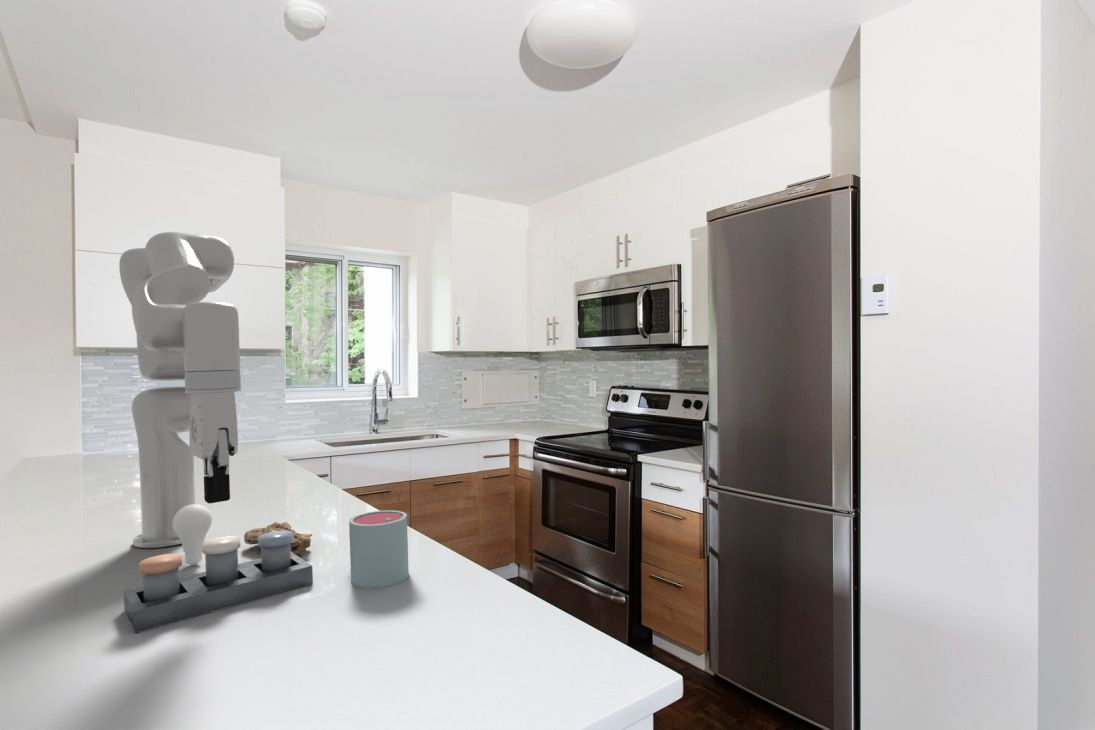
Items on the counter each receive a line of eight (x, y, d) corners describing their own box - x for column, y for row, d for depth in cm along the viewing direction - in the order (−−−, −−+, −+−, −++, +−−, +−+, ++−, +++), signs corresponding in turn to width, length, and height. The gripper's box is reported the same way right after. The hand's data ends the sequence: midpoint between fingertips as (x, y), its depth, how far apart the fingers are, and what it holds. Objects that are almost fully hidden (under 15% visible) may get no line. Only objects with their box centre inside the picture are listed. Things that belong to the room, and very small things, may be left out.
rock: (338, 531, 116) (298, 534, 108) (334, 557, 116) (292, 563, 107) (280, 518, 124) (238, 519, 115) (276, 542, 123) (232, 546, 114)
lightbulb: (195, 572, 103) (193, 509, 103) (165, 570, 104) (163, 508, 104) (221, 560, 109) (219, 501, 109) (192, 558, 110) (190, 500, 110)
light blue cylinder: (254, 572, 97) (253, 535, 97) (287, 564, 101) (286, 528, 101) (264, 581, 94) (263, 542, 93) (298, 572, 97) (297, 535, 97)
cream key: (199, 580, 92) (198, 541, 92) (236, 572, 96) (234, 534, 95) (207, 590, 88) (206, 548, 88) (245, 580, 92) (244, 540, 92)
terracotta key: (138, 601, 87) (136, 559, 87) (179, 591, 90) (177, 551, 90) (143, 612, 83) (142, 568, 83) (186, 601, 86) (185, 559, 86)
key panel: (124, 610, 88) (123, 590, 88) (291, 568, 104) (290, 551, 104) (134, 633, 80) (134, 611, 80) (312, 583, 96) (312, 565, 96)
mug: (419, 575, 99) (417, 516, 99) (369, 592, 92) (367, 529, 92) (375, 558, 108) (374, 503, 108) (327, 572, 101) (325, 514, 101)
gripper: (175, 383, 94) (179, 497, 95) (196, 385, 83) (200, 514, 83) (227, 381, 99) (231, 489, 100) (253, 382, 88) (257, 504, 88)
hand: (217, 500), depth 91 cm, fingers closed
